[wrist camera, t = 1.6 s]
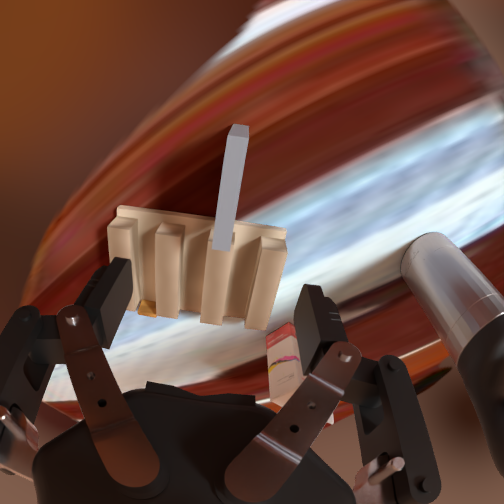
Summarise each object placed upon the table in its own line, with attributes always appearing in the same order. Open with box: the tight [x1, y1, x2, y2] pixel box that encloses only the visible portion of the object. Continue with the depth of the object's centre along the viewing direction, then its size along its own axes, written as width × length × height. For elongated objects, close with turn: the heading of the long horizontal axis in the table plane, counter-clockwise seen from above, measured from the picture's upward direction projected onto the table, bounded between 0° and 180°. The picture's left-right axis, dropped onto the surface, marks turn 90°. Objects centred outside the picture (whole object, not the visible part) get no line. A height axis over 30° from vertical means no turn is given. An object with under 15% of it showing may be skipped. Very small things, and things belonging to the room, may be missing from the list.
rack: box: [107, 205, 288, 331], centre depth 36 cm, size 20×14×4 cm
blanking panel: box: [212, 124, 249, 252], centre depth 27 cm, size 2×10×9 cm, turn 170°
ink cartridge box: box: [266, 322, 334, 424], centre depth 39 cm, size 9×5×15 cm, turn 43°
